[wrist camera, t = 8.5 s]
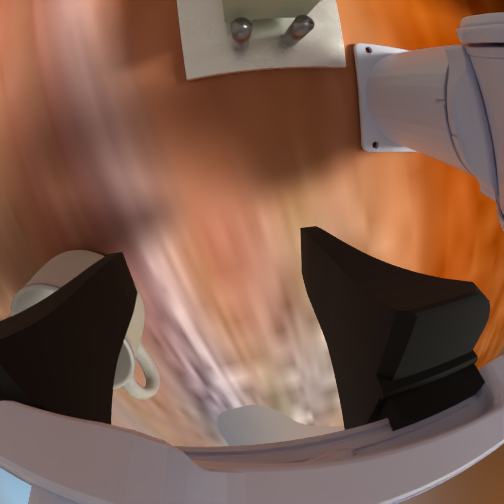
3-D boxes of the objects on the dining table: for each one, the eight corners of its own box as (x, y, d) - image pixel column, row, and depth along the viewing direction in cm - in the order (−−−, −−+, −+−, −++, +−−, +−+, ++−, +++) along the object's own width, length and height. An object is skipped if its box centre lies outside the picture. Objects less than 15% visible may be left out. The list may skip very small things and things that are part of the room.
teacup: (36, 262, 21) (-8, 315, 14) (106, 208, 19) (53, 265, 12) (119, 356, 28) (101, 415, 21) (198, 331, 26) (190, 403, 19)
